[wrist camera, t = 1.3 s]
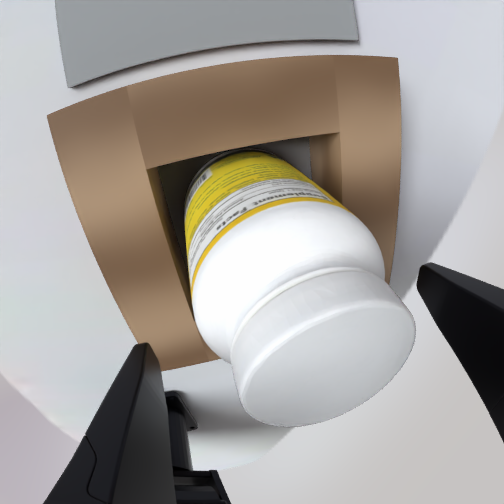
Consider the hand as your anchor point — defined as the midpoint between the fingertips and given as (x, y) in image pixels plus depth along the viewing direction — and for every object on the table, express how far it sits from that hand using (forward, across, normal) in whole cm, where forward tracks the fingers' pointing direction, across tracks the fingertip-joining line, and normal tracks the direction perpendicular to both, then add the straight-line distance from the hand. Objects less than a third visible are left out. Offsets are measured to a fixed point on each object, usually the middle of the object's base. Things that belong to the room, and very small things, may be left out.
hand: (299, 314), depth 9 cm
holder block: (+8, 0, 0) cm, 8 cm away
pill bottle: (+9, 0, 0) cm, 9 cm away
